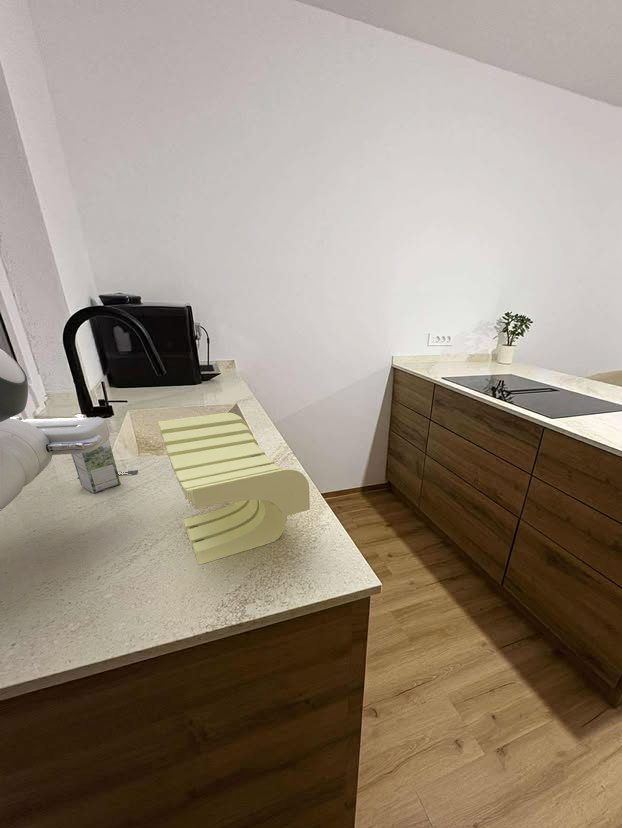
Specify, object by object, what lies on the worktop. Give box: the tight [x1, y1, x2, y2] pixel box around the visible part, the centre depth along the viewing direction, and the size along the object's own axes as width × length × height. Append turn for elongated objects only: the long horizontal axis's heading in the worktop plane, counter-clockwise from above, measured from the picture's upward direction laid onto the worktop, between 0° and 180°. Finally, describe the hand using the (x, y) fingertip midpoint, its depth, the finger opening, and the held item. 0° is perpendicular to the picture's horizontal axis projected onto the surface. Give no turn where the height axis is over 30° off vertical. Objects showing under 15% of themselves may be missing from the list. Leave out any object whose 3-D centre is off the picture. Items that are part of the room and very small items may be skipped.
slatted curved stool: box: [157, 412, 311, 566], centre depth 67 cm, size 30×16×18 cm, turn 32°
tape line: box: [77, 469, 139, 480], centre depth 89 cm, size 12×2×1 cm, turn 106°
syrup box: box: [70, 438, 121, 494], centre depth 81 cm, size 6×6×14 cm
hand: (50, 420), depth 66 cm, fingers open, 8 cm apart
